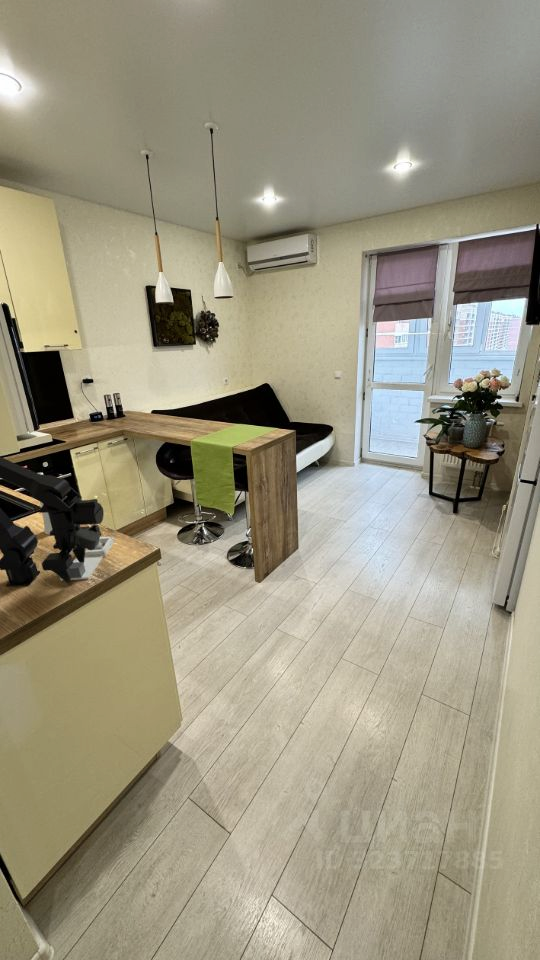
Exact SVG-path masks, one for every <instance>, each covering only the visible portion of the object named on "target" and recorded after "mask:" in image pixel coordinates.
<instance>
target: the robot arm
mask: <svg viewBox="0 0 540 960" xmlns="http://www.w3.org/2000/svg"><path fill="white" fill-rule="evenodd" d="M37 473H38V472H35V471H32V470H31V469H28V468H26V467H23V466H21V465H20V464H17V463H14V462H13V461H10V460H9V459H6V458H4V457H1V456H0V479H1V480H4V481H6V482H8V483H10V484H13V485H14V486H17V487H19V488H22V489H24V490H25V491H27V492H29V494H30V495H31V496H32V497H33V499H35V500H37V501H38V502H39V503H40V502H41V503H43V506H42V508H41V507H40V508H39V509H38V510H37V512H38V513H39V514H40V513H41V514H42V513H46V512H47V513H48V515H49V519H50V523H51V526H52V531H51V532H50V535H49V536H50V537H51V536H52V537H54V541H55V543H54V544H53V545H52V547H53V550H59V552H50V553H49V554H48V555H47V556H46V557H45V559H43V561H42V562H41V567H42V570H43V571H51V572H52V573H54V574H56V576H58V577H60V578H62V579H63V580H62V581H63V582H65V583H66V584H67V583H71V581H72V580H71V576H70V568H69V567H70V566H71V565H72V563H73V556H72V554H71V553H73V555H74V556H76V557H75V558H77V560H78V561H79V562H83V563H84V561H85V551H86V550H94V549H95V548H96V546H97V545H98V544H99V539H100V537H102V531H101V530H100V526H99V525H101V524H102V522H103V520H104V513H105V512H104V507H103V506H102V503H99V502H98V499H97V498H92V499H86V500H85V499H84V500H83V499H82V498H83V496H81V494H79V493H78V492H77V491H76V490H75V489H74V488H72V486H71V485H70V482H69V481H67V480H66V479H65V478H60V477H57V476H56V475H55V476H54V475H51V474H50V475H49V474H43V475H41V474H37ZM67 498H68V499H67ZM66 499H67V500H66ZM64 500H66V501H64ZM83 525H86V526H83ZM87 525H91V526H87ZM37 536H38V535H37V534H35V533H34V532H33V531H32V529H31V528H30V526H28V525H25V526H24V527H21V526H19V525H17V524H15V523H14V522H13V520H12V519H11V518H10V517H9V515H7V513H5V511H4V510H3V509H2V508H1V507H0V552H1V553H2V555H3V556H1V557H0V571H5V573H6V576H7V579H8V580H7V582H6V584H5V587H24V586H29V585H31V584H32V583H33V582H34V581H35V579H36V578H38V576H39V574H41V570H38V568H37V564H36V562H35V561H34V558H33V556H32V555H33V554H34V553H35V549H36V548H37V547H38V543H39V541H38V538H37ZM60 578H59V579H60Z"/></svg>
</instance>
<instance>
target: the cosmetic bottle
mask: <svg viewBox="0 0 540 960" xmlns="http://www.w3.org/2000/svg"><path fill="white" fill-rule="evenodd" d="M36 473H37V474H41V475H44V473H43V472H36ZM39 506H40V509H41V508H42V506H43V503H41V502H40V501H39ZM41 514H42V521H43V525H44V534H45V535H49V536H50V532H51V531H52V526H51V523H50V519H49V515H48V513H47V512H46V513H41Z"/></svg>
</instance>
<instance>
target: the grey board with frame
mask: <svg viewBox="0 0 540 960" xmlns="http://www.w3.org/2000/svg"><path fill="white" fill-rule="evenodd" d="M114 538H115V537H114V536H100V539H99V541H100V543H102V545H103V544H104V545H103V548H102V550H88V549H86V551H85V561H84V563H83V562H79V561H78V560H77V558H76V556H75V555H74V556H75V558H74V559H73V560H72V562H73V563H72V565H71V566H70V567H69V568H70V576H71V581H76V580H77V581H79V580H89V579H90V578H91V577H92V575H93V574H94V572H95V571H96V569H97V567H98V565H99V564H100V562H101V561H102V559H103V558H104V557H106V555H107V554H108V552H109V551H110V550H111V547H112V546H113V544H114V543H115V539H114ZM59 580H60V581H64V580H63V579H62V578H59Z"/></svg>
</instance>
